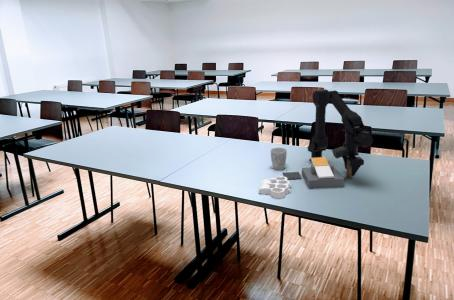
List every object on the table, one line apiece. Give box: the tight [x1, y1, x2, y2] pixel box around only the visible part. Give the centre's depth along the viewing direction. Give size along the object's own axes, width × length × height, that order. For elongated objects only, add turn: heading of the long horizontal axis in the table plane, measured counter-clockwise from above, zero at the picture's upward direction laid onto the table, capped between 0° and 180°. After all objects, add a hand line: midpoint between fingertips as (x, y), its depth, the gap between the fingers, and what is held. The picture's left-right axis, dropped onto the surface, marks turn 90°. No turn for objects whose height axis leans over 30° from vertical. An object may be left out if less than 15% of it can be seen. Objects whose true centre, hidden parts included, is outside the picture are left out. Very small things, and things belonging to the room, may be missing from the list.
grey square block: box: [301, 163, 345, 190], centre depth 165 cm, size 16×16×8 cm
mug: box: [270, 147, 288, 170], centre depth 185 cm, size 11×8×10 cm
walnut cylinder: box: [345, 160, 354, 180], centre depth 167 cm, size 3×3×9 cm
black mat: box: [282, 171, 303, 181], centre depth 173 cm, size 8×8×1 cm
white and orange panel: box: [310, 156, 334, 179], centre depth 164 cm, size 15×7×1 cm, turn 0°
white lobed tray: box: [258, 175, 293, 199], centre depth 160 cm, size 3×18×15 cm
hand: (349, 172), depth 167 cm, fingers open, 8 cm apart
